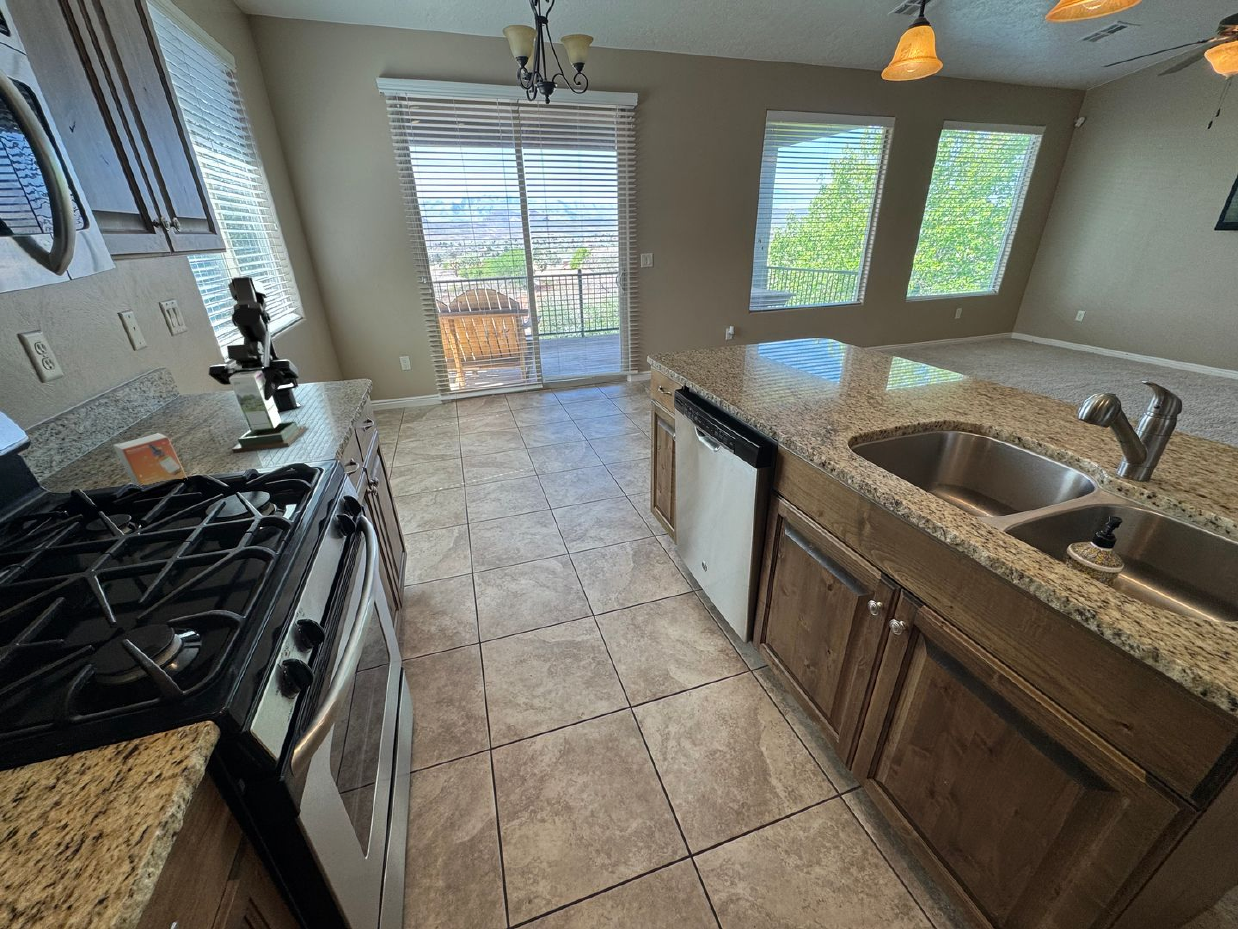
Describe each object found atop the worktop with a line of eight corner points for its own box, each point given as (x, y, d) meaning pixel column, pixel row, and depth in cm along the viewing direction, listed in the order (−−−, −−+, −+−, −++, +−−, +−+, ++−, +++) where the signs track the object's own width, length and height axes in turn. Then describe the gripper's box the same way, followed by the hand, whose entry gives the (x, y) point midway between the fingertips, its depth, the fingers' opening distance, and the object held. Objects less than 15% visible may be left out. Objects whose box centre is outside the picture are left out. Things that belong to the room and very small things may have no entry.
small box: (144, 494, 104) (120, 449, 99) (134, 488, 107) (111, 444, 102) (188, 479, 110) (168, 436, 105) (178, 474, 113) (158, 432, 108)
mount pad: (256, 434, 135) (252, 424, 133) (306, 428, 137) (303, 419, 136) (233, 452, 123) (228, 441, 122) (288, 446, 125) (284, 435, 124)
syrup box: (282, 421, 132) (262, 369, 125) (274, 429, 127) (253, 375, 120) (258, 424, 130) (237, 371, 124) (249, 432, 125) (227, 377, 119)
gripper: (196, 333, 120) (190, 389, 115) (279, 327, 123) (276, 382, 118) (225, 357, 130) (220, 410, 125) (300, 352, 133) (298, 402, 128)
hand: (253, 401), depth 124 cm, fingers closed on syrup box, 6 cm apart
